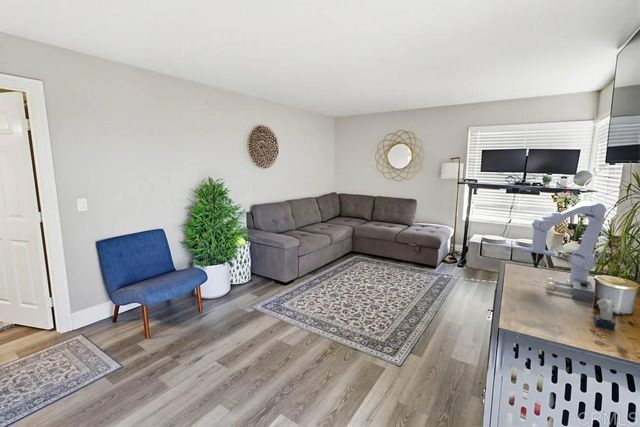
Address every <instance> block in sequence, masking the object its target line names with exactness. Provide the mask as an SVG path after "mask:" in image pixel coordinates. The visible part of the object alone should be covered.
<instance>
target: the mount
mask: <svg viewBox="0 0 640 427" xmlns="http://www.w3.org/2000/svg"><path fill="white" fill-rule="evenodd" d="M570 283H572V285H571V287H570V288H573V292H569V293H570V295H571V299H572V300H576V301H580V302H586V303H590V304H594V299H595V293H596V291H595V289H594V287H593V285H592V283H591V281H590V280H589V281H588V280H587V281H584V280H578V279H573V278H571V282H570Z"/></svg>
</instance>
